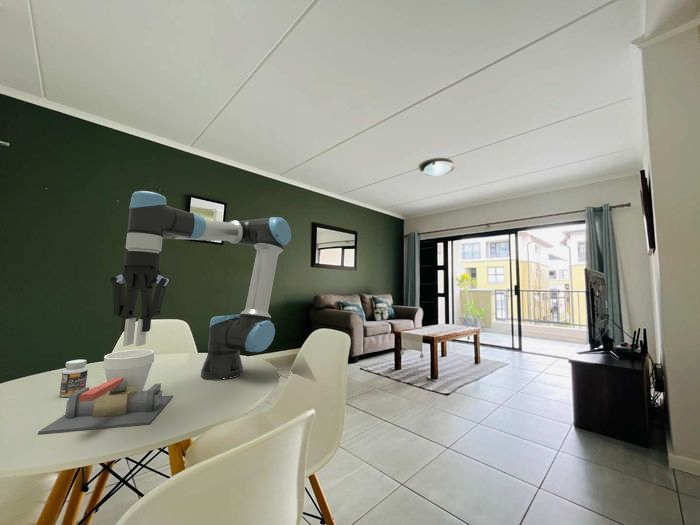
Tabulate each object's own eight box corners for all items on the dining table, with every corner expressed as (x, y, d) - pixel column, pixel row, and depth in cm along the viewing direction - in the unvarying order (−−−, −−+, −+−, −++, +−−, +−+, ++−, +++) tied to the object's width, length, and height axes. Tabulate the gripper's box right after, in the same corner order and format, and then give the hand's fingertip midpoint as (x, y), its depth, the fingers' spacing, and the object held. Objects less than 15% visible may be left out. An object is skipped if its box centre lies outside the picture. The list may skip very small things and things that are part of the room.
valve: (163, 402, 82) (165, 382, 82) (153, 412, 75) (155, 390, 76) (78, 408, 76) (81, 387, 77) (60, 420, 69) (63, 396, 70)
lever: (114, 387, 78) (116, 375, 78) (129, 387, 78) (130, 374, 79) (75, 409, 64) (77, 394, 64) (93, 408, 64) (95, 393, 65)
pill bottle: (68, 398, 84) (72, 364, 85) (54, 396, 85) (58, 362, 86) (89, 391, 89) (93, 359, 90) (75, 390, 91) (79, 358, 91)
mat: (173, 397, 87) (173, 395, 87) (149, 424, 70) (150, 421, 70) (86, 403, 81) (86, 400, 81) (37, 434, 64) (38, 431, 64)
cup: (138, 407, 80) (143, 357, 81) (88, 410, 77) (93, 359, 79) (158, 391, 92) (161, 348, 93) (114, 393, 89) (119, 349, 91)
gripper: (181, 254, 77) (174, 342, 75) (122, 252, 76) (112, 341, 73) (167, 251, 70) (158, 348, 68) (100, 248, 68) (89, 347, 66)
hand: (134, 344), depth 70 cm, fingers open, 2 cm apart
